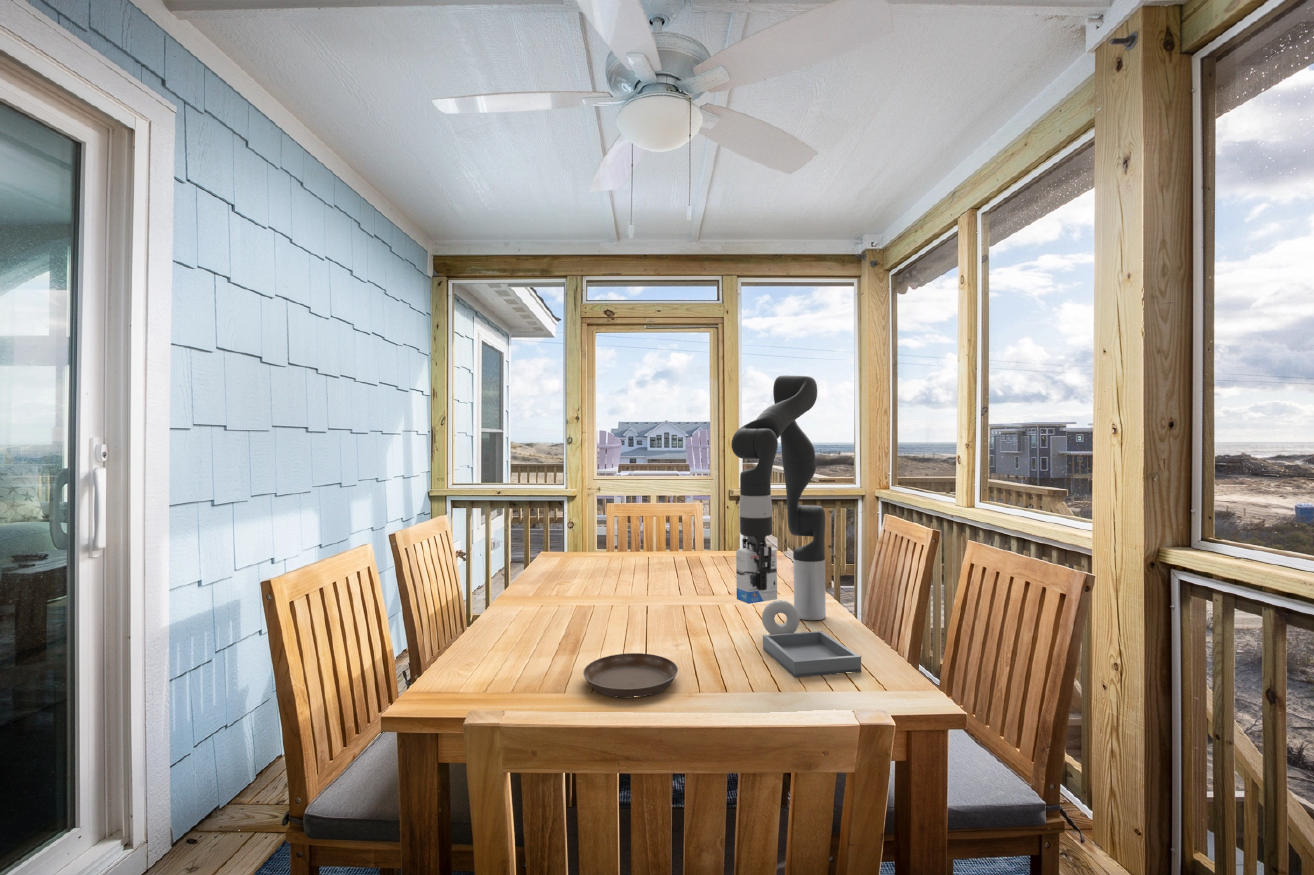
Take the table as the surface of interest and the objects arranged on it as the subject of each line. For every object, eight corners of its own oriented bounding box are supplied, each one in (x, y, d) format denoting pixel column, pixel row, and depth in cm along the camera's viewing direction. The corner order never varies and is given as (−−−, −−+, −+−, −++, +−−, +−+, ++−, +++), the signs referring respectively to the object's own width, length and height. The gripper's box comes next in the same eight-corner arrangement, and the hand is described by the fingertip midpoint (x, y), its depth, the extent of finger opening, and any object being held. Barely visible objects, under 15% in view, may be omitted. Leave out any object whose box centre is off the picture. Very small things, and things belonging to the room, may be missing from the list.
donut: (762, 638, 167) (761, 601, 167) (761, 634, 171) (761, 598, 171) (800, 640, 166) (799, 602, 166) (799, 636, 169) (799, 599, 169)
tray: (763, 648, 159) (762, 635, 159) (822, 644, 162) (821, 630, 162) (794, 677, 139) (794, 661, 139) (861, 672, 142) (861, 656, 142)
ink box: (748, 604, 142) (747, 552, 142) (735, 599, 146) (734, 549, 146) (778, 599, 146) (777, 548, 146) (765, 594, 150) (764, 545, 150)
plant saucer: (644, 711, 123) (644, 694, 123) (563, 690, 134) (563, 674, 134) (694, 677, 141) (694, 662, 141) (619, 661, 151) (619, 647, 152)
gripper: (782, 517, 140) (783, 593, 140) (760, 510, 154) (761, 578, 154) (750, 519, 138) (751, 595, 138) (731, 511, 152) (732, 580, 152)
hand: (757, 586), depth 146 cm, fingers closed on ink box, 5 cm apart
